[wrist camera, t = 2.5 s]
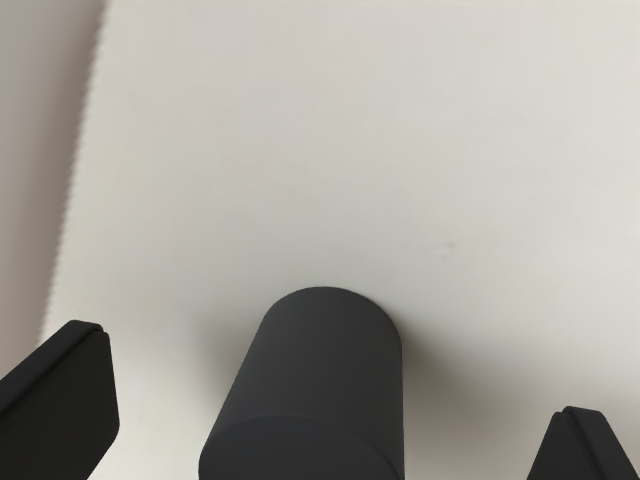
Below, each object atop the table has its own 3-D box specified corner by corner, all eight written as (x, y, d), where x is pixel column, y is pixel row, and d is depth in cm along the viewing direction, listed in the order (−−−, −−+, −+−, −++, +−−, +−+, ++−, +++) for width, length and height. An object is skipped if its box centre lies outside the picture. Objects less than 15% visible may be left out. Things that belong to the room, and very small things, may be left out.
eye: (339, 258, 10) (310, 378, 7) (431, 365, 11) (449, 525, 7) (230, 331, 12) (156, 465, 8) (319, 423, 12) (288, 581, 9)
